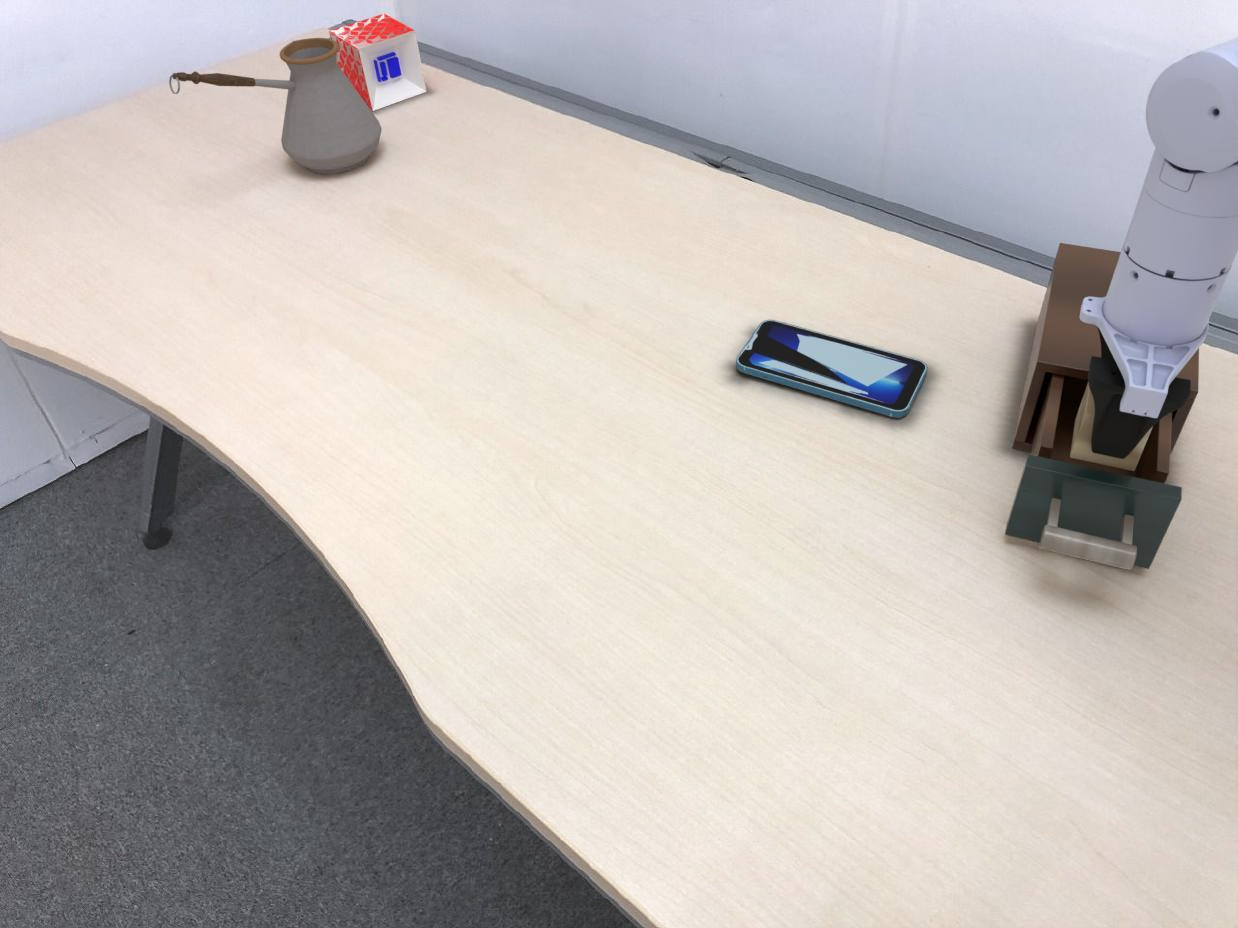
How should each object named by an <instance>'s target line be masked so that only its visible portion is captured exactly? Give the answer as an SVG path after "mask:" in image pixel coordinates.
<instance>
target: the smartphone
mask: <svg viewBox="0 0 1238 928" xmlns="http://www.w3.org/2000/svg"><path fill="white" fill-rule="evenodd" d="M735 367H736V369H737V370H738V371H739V372H740V373H743V374H746V375H748V376H749V375H750V376H752V377H756V378H759V379H763V380H766V381H769V382H773V383H775V384H779V385H783V386H786V387H790V388H793V389H797V390H800V391H802V392H805V393H809V394H813V395H817V396H821V397H824V398H827V399H830V400H833V401H837V402H840V403H844V404H847V405H849V406H854V407H857V408H859V409H860V408H861V409H864V410H867V411H870V412H874V413H877V414H880V415H881V414H882V415H883V416H887V417H890V418H904V417H905V416H907V415H908V413H909V412H910V410H911V407H912V405H913V403H914V401H915V399H916V397H917V395H918V393H919V391H920V389H921V387H922V385H923V383H924V380H925V378H926V377H927V375H928V374H927V373H928V369H929V368H928V365H927V364H926V363H925V361H923V360H921V359H918V358H914V357H911V356H907V355H903V354H900V353H896V352H892V351H889V350H885V349H882V348H878V347H874V346H871V345H867V344H863V343H860V342H856V341H854V340H849V339H845V338H842V337H838V336H834V335H830V334H827V333H823V332H819V331H816V330H813V329H809V328H805V327H802V326H798V325H795V324H790V323H787V322H784V321H780V320H776V319H765V320H762V321H761V322H760V323H759V324H758V326H757V327H756V329H755V330H754V332H753V333H752V335H751V336H750V337H749V339H748V340H747V341H746V343H745V345H744V346H743V347H742V349H741V351H740V352H739V353H738V355H737V356H736V359H735Z"/></svg>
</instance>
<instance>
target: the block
mask: <svg viewBox="0 0 1238 928" xmlns="http://www.w3.org/2000/svg"><path fill="white" fill-rule="evenodd" d="M1094 415H1095V406H1094V399H1093V396H1092V393H1091V391H1090V388H1089V382H1088V384H1087V387H1086V390H1085V393H1084V396H1083V399H1082V401H1081V404H1080V407H1079V410H1078V413H1077V416H1076V419H1075V425H1074V432H1073V439H1072V446H1071V453H1070V458H1074V459H1079V460H1084V461H1088V462H1093V463H1098V464H1102V465H1107V466H1112V467H1117V468H1121V469H1126V470H1131V471H1135V469H1136V466H1137V464H1138V461H1139V459H1140V456H1141V454H1142V452H1143V449H1144V447H1145V444H1146V442H1147V440H1148V437H1149V435H1150V432H1151V430H1152V428H1151V429H1150V430H1149V431H1148V432H1147V433H1146V434H1145V436H1144V437H1143V438H1142V439H1141V441H1140V442H1139V443H1138V444H1137V446H1136V447H1135V448H1134V449H1133V451H1132V452H1131V453H1130V454H1129V455H1128V456H1127V457H1126V458H1125V459H1120V458H1115V457H1111V456H1106V455H1101V454H1096V453H1093V452H1092V449H1091V438H1092V429H1093V422H1094Z"/></svg>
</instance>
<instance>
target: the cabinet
mask: <svg viewBox="0 0 1238 928" xmlns="http://www.w3.org/2000/svg"><path fill="white" fill-rule="evenodd" d="M1120 253H1121V251H1118V250H1117V251H1116V250H1110V249H1103V248H1096V247H1089V246H1083V245H1077V244H1071V243H1065V242H1064V243H1063V242H1060V243H1059V244H1058V247H1057V251H1056V255H1055V258H1054V262H1053V266H1052V269H1051V272H1050V275H1049V280H1048V283H1047V287H1046V290H1045V294H1044V297H1043V301H1042V305H1041V308H1040V312H1039V315H1038V319H1037V322H1036V325H1035V330H1034V335H1033V341H1032V345H1031V351H1030V355H1029V361H1028V365H1027V370H1026V375H1025V379H1024V380H1025V381H1024V384H1023V391H1022V394H1021V400H1020V406H1019V410H1018V416H1017V420H1016V425H1015V431H1014V436H1013V440H1012V446H1011V448H1012V449H1013V450H1019V451H1022V452H1027V453H1031V448H1032V442H1033V437H1034V431H1035V426H1036V420H1037V415H1038V409H1039V404H1040V398H1041V395H1042V392H1043V388H1044V385H1045V382H1046V378H1047V375H1048V372H1050V373H1055V374H1060V375H1066V376H1071V377H1076V378H1081V379H1087V380H1088V373H1089V365H1090V360H1091V357H1092V356H1095V357H1101V342H1100V335H1099V331H1098V327H1097V326H1096V325H1093V324H1087V323H1084V322H1083V321H1081V320H1080V310H1081V306H1082V302H1083V300H1084V298H1086V297H1099V298H1102V297H1105V296H1107V293H1108V290H1109V287H1110V284H1111V281H1112V278H1113V275H1114V272H1115V269H1116V266H1117V263H1118V260H1119V256H1120ZM1199 375H1200V348H1199V349H1198V350H1197V351H1196V352H1195V354H1194V355H1193V356H1192V357H1191V358H1190V360H1189V361H1188V362H1187V363H1186V365H1185V366H1184V367H1183V368H1182V370H1181V371H1180V372H1179V373H1178V375H1177V376H1176V377H1177V378H1182V379H1188V380H1191V392H1190V396H1189V399H1188V400H1187V402H1186V403H1185V404H1184V405H1183V406H1182V407H1181V408H1179V409H1177V410H1175V411H1173V412H1172V426H1171V449H1170V456H1171V455H1172V454H1173V451H1174V449H1175V447H1176V444H1177V441H1178V440H1179V437H1180V436H1181V433H1182V430H1183V429H1184V426H1185V423H1186V421H1187V419H1188V417H1189V415H1190V412H1191V411H1192V408H1193V406H1194V403H1195V401H1196V398H1197V396H1198V393H1199V382H1200V381H1199V379H1200V378H1199V377H1200V376H1199Z"/></svg>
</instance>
